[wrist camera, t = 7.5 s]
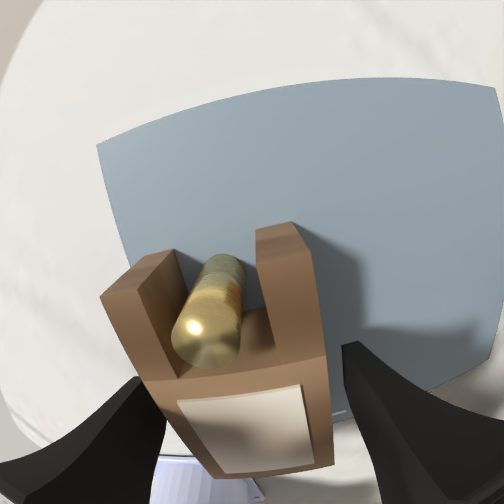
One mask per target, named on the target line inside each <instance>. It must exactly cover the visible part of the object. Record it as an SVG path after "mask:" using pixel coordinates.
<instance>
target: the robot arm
mask: <svg viewBox="0 0 504 504" xmlns="http://www.w3.org/2000/svg"><path fill="white" fill-rule="evenodd" d="M341 350H342V364H343V382H344V388H345V391H346V395H347V399H348V402H349V405H350V409H351V411H352V413H353V416H354V418H355V421H356V423H357V425H358V428H359V430H360V432H361V435H362V437H363V440H364V442H365V444H366V447H367V449H368V452H369V454H370V457H371V460H372V463H373V466H374V470H375V474H376V478H377V482H378V486H379V490H380V495H381V499H382V504H504V420H499V419H495V418H491V417H487V416H483V415H479V414H476V413H473V412H471V411H468V410H465V409H462V408H460V407H457V406H454V405H452V404H450V403H448V402H445V401H443V400H441V399H439V398H437V397H435V396H433V395H432V394H430V393H428V392H426V391H425V390H423V389H421V388H420V387H418V386H416V385H415V384H413V383H412V382H410V381H409V380H407V379H406V378H404V377H403V376H402V375H400V374H399V373H398V372H396V371H395V370H394V369H392V368H391V367H390V366H388V365H387V364H386V363H384V362H383V361H382V360H381V359H380V358H378V357H377V356H376V355H375V354H374V353H372V352H371V351H370V350H369V349H368V348H367V347H366V346H364V345H363V344H362V343H361V342H360V341H358V340H357V341H354V342H350V343H347V344H343V345H341ZM166 423H167V419H166V417H165V416H164V414H163V413H162V412H161V410H160V409H159V407H158V405H157V404H156V402H155V401H154V399H153V398H152V396H151V395H150V393H149V391H148V390H147V388H146V387H145V385H144V383H143V382H142V380H141V378H140V376H134V377H133V378H132V379H130V380H129V381H128V382H127V383H126V384H125V385H124V386H122V387H121V388H120V389H119V390H118V391H117V392H116V393H115V394H114V395H113V396H112V397H111V398H110V399H109V400H107V401H106V402H105V403H104V404H103V405H102V406H101V407H100V408H99V409H98V410H97V411H95V412H94V413H93V414H92V415H91V416H90V417H88V418H87V419H86V420H85V421H84V422H83V423H81V424H80V425H79V426H78V427H76V428H75V429H74V430H72V431H71V432H70V433H68V434H67V435H65V436H64V437H62V438H61V439H59V440H57V441H55V442H54V443H52V444H50V445H48V446H46V447H45V448H43V449H41V450H39V451H37V452H34V453H32V454H29V455H26V456H24V457H21V458H18V459H14V460H11V461H7V462H2V463H0V493H1V494H2V495H4V496H5V497H6V498H7V499H9V500H10V501H12V502H13V503H14V504H254V502H262V501H264V500H265V496H264V495H263V494H262V492H261V491H260V489H259V488H258V486H257V485H256V483H255V482H254V480H253V479H252V478H243V479H213V478H212V476H211V475H210V474H209V473H208V472H207V471H206V470H205V468H204V467H203V466H202V465H201V464H200V462H199V461H198V460H197V459H196V458H195V457H172V456H159V453H160V450H161V446H162V443H163V439H164V435H165V430H166ZM153 475H154V476H155V477H156V479H155V483H154V487H153V490H152V494H151V485H152V480H153ZM150 494H151V498H150ZM2 504H7V503H6V502H5V501H3V502H2Z"/></svg>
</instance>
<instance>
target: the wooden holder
mask: <svg viewBox="0 0 504 504" xmlns="http://www.w3.org/2000/svg"><path fill="white" fill-rule="evenodd" d="M255 251H256V268H257V272H258V276H259V280H260V284H261V288H262V292H263V296H264V300H265V304H266V307H264V308H259V309H254V310H249V311H244V312H243V316H242V328H241V341H240V350H239V353H238V355H237V357H236V358H235V360H234V361H233V362H231V363H230V364H228V365H227V366H224V367H222V368H218V369H202V368H198V367H195V366H193V365H191V364H189V363H187V362H186V361H184V360H183V359H182V358H181V357H180V356H179V355H178V354H177V353H176V351H175V350H174V348H173V345H172V341H171V333H172V330H173V327H174V325H175V323H176V321H177V319H178V317H179V315H180V313H181V311H182V308H183V306H184V304H185V302H186V300H187V298H188V296H189V293H188V290H187V287H186V284H185V281H184V278H183V275H182V272H181V269H180V266H179V263H178V260H177V257H176V254H175V251H174V249H170V250H166V251H162V252H158V253H154V254H150V255H146V256H144V257H142V258H141V259H140V260H139V261H138V262H137V263H136V264H134V265H133V266H132V267H131V268H130V269H129V270H128V271H127V272H125V273H124V274H123V275H122V276H121V277H120V278H119V279H118V280H117V281H116V282H115V283H113V284H112V285H111V286H110V287H109V288H108V289H107V290H106V291H105V292H104V293H103V294H102V295H101V296H100V299H101V302H102V304H103V306H104V308H105V311H106V313H107V315H108V317H109V319H110V321H111V324H112V326H113V328H114V330H115V332H116V334H117V336H118V338H119V340H120V342H121V344H122V346H123V348H124V350H125V351H126V353H127V355H128V357H129V359H130V361H131V362H132V364H133V366H134V368H135V370H136V371H137V373H138V375H139V376H140V378H141V380H142V382H143V383H144V385H145V387H146V388H147V390H148V391H149V393H150V395H151V396H152V398H153V399H154V401H155V402H156V404H157V405H158V407H159V409H160V410H161V412H162V413H163V414H164V416H165V417H166V419H167V420H168V422H169V423H170V425H171V426H172V427H173V429H174V430H175V432H176V433H177V434H178V436H179V437H180V438H181V440H182V441H183V442H184V444H185V445H186V446H187V447H188V449H189V450H190V451H191V453H192V454H193V455H194V456H195V458H196V459H197V460H198V461H199V462H200V464H201V465H202V466H203V467H204V468H205V470H206V471H207V472H208V473H209V474H210V475H211V476H212V478H213V479H243V478H257V477H267V476H276V475H283V474H290V473H297V472H303V471H308V470H313V469H318V468H323V467H327V466H332V465H335V463H334V443H333V427H332V413H331V401H330V390H329V380H328V370H327V361H326V352H325V344H324V336H323V328H322V321H321V314H320V307H319V300H318V293H317V287H316V280H315V274H314V268H313V262H312V257H311V251H310V250H309V248H308V247H307V245H306V243H305V242H304V240H303V239H302V237H301V236H300V234H299V233H298V231H297V229H296V228H295V226H294V225H293V223H292V222H291V221H290V222H285V223H281V224H276V225H272V226H267V227H263V228H258V229H255Z"/></svg>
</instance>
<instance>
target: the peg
mask: <svg viewBox="0 0 504 504" xmlns="http://www.w3.org/2000/svg"><path fill="white" fill-rule="evenodd" d="M245 279H246V272H245V268H244V266H243V264H242V263H241V262H240V261H239V260H238V259H237V258H236V257H234V256H232V255H229V254H217V255H214V256H212V257H210V258H209V259H208V260H207V261H206V262H205V264H204V266H203V268H202V270H201V272H200V274H199V276H198V278H197V280H196V282H195V284H194V286H193V288H192V290H191V292H190V294H189V296H188V298H187V300H186V302H185V304H184V306H183V308H182V311H181V313H180V315H179V317H178V319H177V321H176V323H175V325H174V327H173V330H172V333H171V341H172V345H173V348H174V350H175V351H176V353H177V354H178V355H179V356H180V357H181V358H182V359H183V360H184V361H186V362H187V363H189V364H191V365H193V366H195V367H198V368H202V369H218V368H222V367H224V366H227V365H228V364H230V363H231V362H233V361H234V360H235V358H236V357H237V355H238V353H239V350H240V341H241V328H242V316H243V304H244V292H245Z"/></svg>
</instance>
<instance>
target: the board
mask: <svg viewBox="0 0 504 504" xmlns="http://www.w3.org/2000/svg"><path fill="white" fill-rule="evenodd" d="M96 146H97V151H98V156H99V160H100V165H101V169H102V173H103V178H104V182H105V186H106V190H107V193H108V197H109V201H110V204H111V208H112V211H113V215H114V218H115V222H116V225H117V228H118V231H119V235H120V238H121V241H122V244H123V247H124V250H125V253H126V256H127V259H128V261H129V264H130V267H132V266H133V265H134V264H136V263H137V262H138V261H139V260H140V259H141V258H142V257H144V256H146V255H150V254H154V253H158V252H162V251H166V250H170V249H174V251H175V254H176V257H177V260H178V263H179V266H180V269H181V272H182V275H183V278H184V281H185V284H186V287H187V290H188V293H189V294H190V292H191V290H192V288H193V286H194V284H195V282H196V280H197V278H198V276H199V274H200V272H201V270H202V268H203V266H204V264H205V262H206V261H207V260H208V259H209V258H210V257H212V256H214V255H217V254H229V255H232V256H234V257H236V258H237V259H238V260H239V261H240V262H241V263H242V264H243V266H244V268H245V272H246V279H245V292H244V304H243V312H244V311H249V310H254V309H259V308H264V307H266V304H265V300H264V296H263V292H262V288H261V284H260V280H259V276H258V272H257V268H256V251H255V229H258V228H263V227H267V226H272V225H276V224H281V223H285V222H290V221H291V222H292V223H293V225H294V226H295V228H296V229H297V231H298V233H299V234H300V236H301V237H302V239H303V240H304V242H305V243H306V245H307V247H308V248H309V250H310V251H311V257H312V262H313V268H314V274H315V280H316V287H317V293H318V300H319V307H320V314H321V321H322V328H323V336H324V344H325V352H326V361H327V370H328V380H329V390H330V401H331V413H332V423H335V422H339V421H343V420H347V419H350V418H354V416H353V413H352V411H351V409H350V405H349V402H348V399H347V395H346V391H345V388H344V382H343V364H342V350H341V345H343V344H347V343H350V342H354V341H357V340H358V341H360V342H361V343H362V344H363V345H364V346H366V347H367V348H368V349H369V350H370V351H371V352H372V353H374V354H375V355H376V356H377V357H378V358H380V359H381V360H382V361H383V362H384V363H386V364H387V365H388V366H390V367H391V368H392V369H394V370H395V371H396V372H398V373H399V374H400V375H402V376H403V377H404V378H406V379H407V380H409V381H410V382H412V383H413V384H415V385H416V386H418V387H420V388H421V389H423V390H425V391H428V390H430V389H433V388H435V387H437V386H439V385H441V384H443V383H445V382H448V381H450V380H452V379H454V378H455V377H457V376H459V375H461V374H463V373H465V372H467V371H469V370H470V369H472V368H474V367H476V366H478V365H479V364H481V363H483V362H484V361H486V360H488V359H489V356H490V353H491V349H492V346H493V343H494V339H495V335H496V332H497V328H498V324H499V320H500V315H501V311H502V306H503V301H504V124H503V119H502V114H501V110H500V105H499V101H498V97H497V94H496V90H495V88H493V87H488V86H482V85H477V84H470V83H463V82H456V81H447V80H436V79H421V78H356V79H341V80H329V81H319V82H311V83H303V84H296V85H289V86H283V87H277V88H272V89H266V90H261V91H256V92H251V93H247V94H242V95H238V96H234V97H230V98H226V99H222V100H218V101H214V102H211V103H207V104H203V105H200V106H197V107H193V108H190V109H187V110H184V111H181V112H178V113H174V114H172V115H169V116H166V117H163V118H160V119H157V120H155V121H152V122H149V123H147V124H144V125H141V126H139V127H136V128H134V129H131V130H129V131H127V132H124V133H122V134H119V135H117V136H115V137H113V138H110V139H108V140H106V141H104V142H102V143H100V144H97V145H96Z"/></svg>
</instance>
